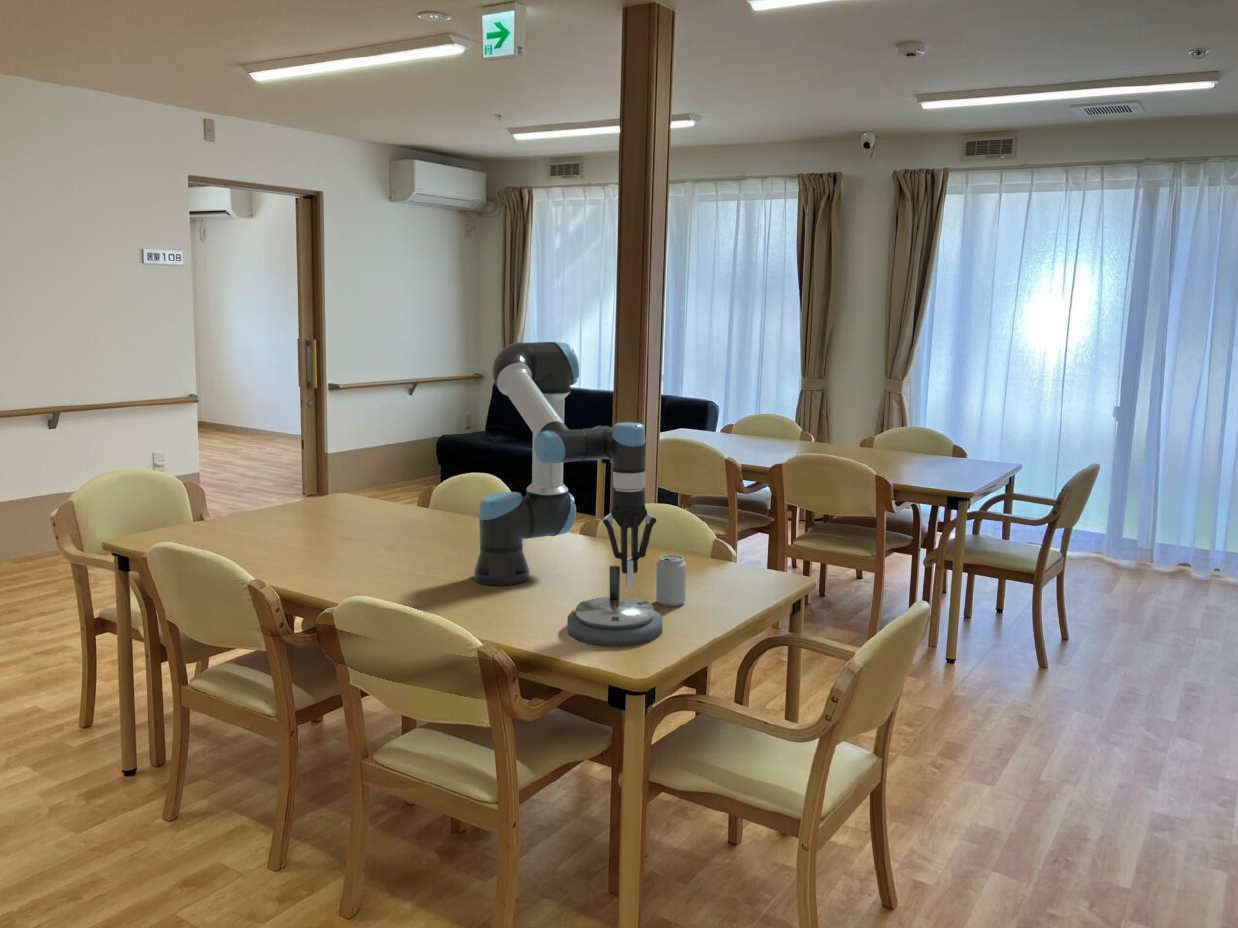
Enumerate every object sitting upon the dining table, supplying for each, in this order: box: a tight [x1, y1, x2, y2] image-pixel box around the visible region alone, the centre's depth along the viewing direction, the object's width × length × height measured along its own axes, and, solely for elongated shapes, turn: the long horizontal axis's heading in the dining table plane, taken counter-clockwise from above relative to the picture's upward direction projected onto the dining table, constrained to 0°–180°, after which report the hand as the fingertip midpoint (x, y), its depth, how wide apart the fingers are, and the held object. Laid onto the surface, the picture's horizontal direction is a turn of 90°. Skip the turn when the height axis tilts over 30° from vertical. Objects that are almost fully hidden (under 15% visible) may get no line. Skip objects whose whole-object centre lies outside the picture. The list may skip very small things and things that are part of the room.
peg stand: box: [575, 565, 655, 629], centre depth 223 cm, size 18×18×10 cm
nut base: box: [566, 608, 663, 648], centre depth 224 cm, size 22×22×4 cm
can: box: [655, 554, 687, 607], centre depth 245 cm, size 8×8×12 cm
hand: (629, 585), depth 231 cm, fingers closed
